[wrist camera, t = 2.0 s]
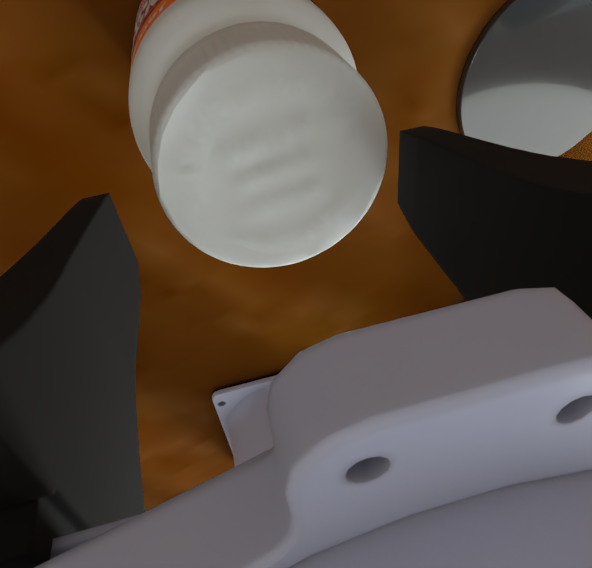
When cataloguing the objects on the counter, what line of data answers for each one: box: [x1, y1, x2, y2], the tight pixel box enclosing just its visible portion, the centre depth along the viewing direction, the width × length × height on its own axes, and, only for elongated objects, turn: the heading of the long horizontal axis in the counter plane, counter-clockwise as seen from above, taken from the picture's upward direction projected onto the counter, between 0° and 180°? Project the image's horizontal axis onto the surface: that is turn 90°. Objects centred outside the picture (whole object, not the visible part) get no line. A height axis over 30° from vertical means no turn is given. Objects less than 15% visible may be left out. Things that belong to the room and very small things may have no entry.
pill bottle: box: [128, 0, 388, 267], centre depth 14 cm, size 6×6×11 cm
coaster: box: [457, 0, 592, 157], centre depth 23 cm, size 9×9×1 cm
